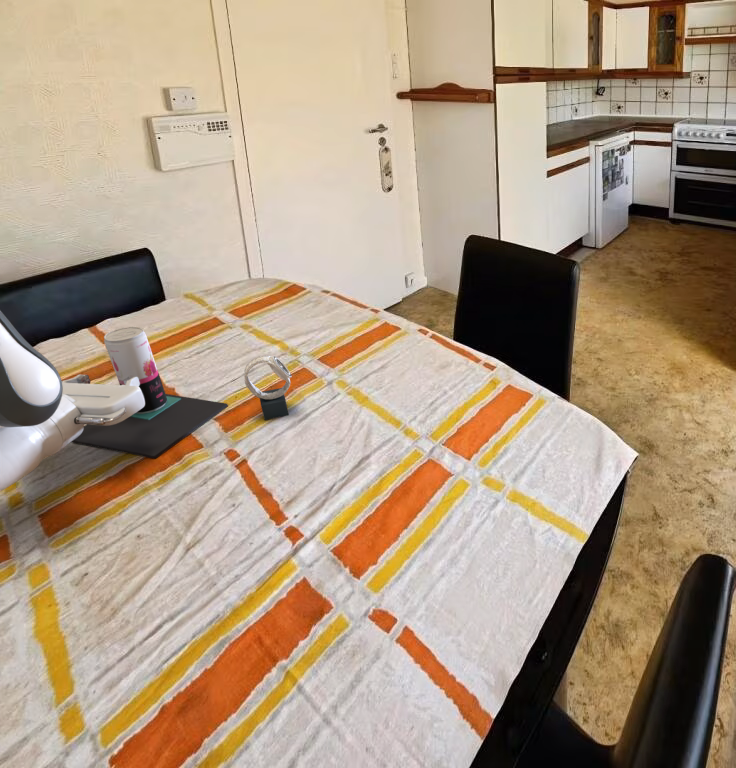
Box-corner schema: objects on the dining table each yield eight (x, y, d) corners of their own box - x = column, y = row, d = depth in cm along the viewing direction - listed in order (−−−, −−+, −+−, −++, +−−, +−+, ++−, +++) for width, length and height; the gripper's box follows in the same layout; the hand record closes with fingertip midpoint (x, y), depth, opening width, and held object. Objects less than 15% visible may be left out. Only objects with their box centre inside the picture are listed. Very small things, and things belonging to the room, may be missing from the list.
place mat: (64, 441, 110) (63, 438, 109) (145, 392, 125) (144, 390, 124) (155, 458, 104) (154, 455, 104) (228, 406, 119) (227, 403, 119)
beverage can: (173, 404, 119) (150, 332, 111) (137, 418, 114) (110, 344, 107) (159, 393, 122) (136, 323, 115) (123, 406, 118) (97, 334, 111)
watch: (299, 412, 116) (288, 359, 111) (254, 422, 114) (240, 369, 108) (296, 399, 121) (285, 348, 116) (252, 408, 118) (238, 356, 113)
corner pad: (114, 414, 116) (114, 413, 116) (148, 393, 123) (148, 393, 123) (148, 420, 114) (148, 419, 114) (181, 399, 121) (180, 398, 121)
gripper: (103, 406, 94) (160, 365, 106) (-17, 400, 96) (51, 360, 108) (117, 441, 97) (170, 397, 109) (-1, 434, 99) (64, 392, 111)
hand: (110, 379), depth 109 cm, fingers open, 8 cm apart
